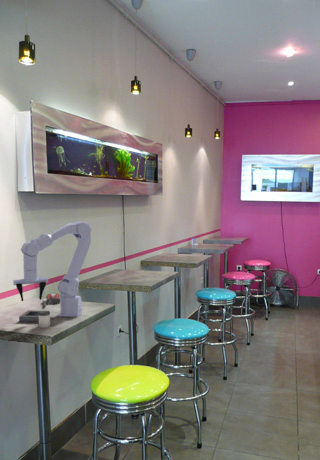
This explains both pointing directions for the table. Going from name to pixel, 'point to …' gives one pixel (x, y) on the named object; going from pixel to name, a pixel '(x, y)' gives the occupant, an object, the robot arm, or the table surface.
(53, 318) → the table surface
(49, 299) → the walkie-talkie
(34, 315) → the grey square frame
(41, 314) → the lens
